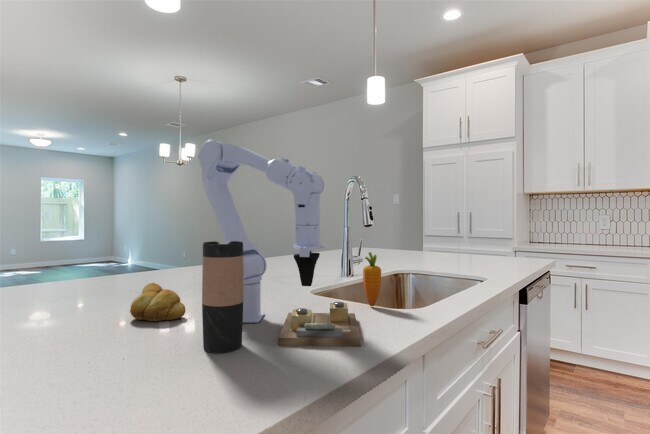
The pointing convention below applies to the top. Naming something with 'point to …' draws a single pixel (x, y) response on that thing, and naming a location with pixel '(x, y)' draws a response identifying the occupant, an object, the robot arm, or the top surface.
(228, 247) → the travel mug
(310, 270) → the robot arm
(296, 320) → the slide
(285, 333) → the base
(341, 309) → the slide
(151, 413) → the top surface
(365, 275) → the carrot
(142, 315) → the bread roll
